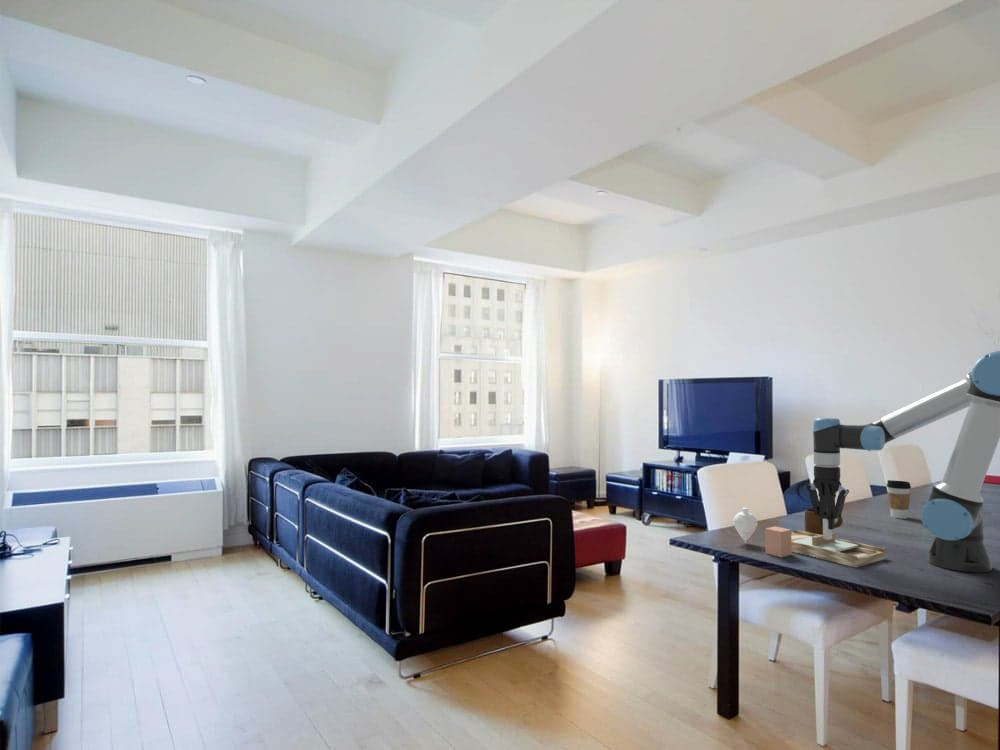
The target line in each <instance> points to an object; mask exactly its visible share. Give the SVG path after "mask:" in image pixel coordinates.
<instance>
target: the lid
mask: <svg viewBox="0 0 1000 750" xmlns="http://www.w3.org/2000/svg"><path fill="white" fill-rule="evenodd" d="M835 538H836V533H834V532H832V539H829V540H826V539H823V535H819V536H813V537H808V538H804V539H799V540H795V541H793V542H797V543H802V544H806V545H810V546H815V547H819V548H823V549H828V550H832V551H836V552H840V551H844V550H848V549H852V548H856V547H858V545H857V544H852V543H847V542H843V541H838V540H835Z"/></svg>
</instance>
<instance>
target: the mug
mask: <svg viewBox="0 0 1000 750" xmlns="http://www.w3.org/2000/svg"><path fill="white" fill-rule="evenodd" d="M826 518H827V517H826ZM836 519H837V521H836V522H835V528H834V529H837V528H839V527H841V526H842V525H843V523H844V522H843V521H844V520H843V517H842V516H841V517H840V518H836ZM804 532H809V533H814V534H819V535H823V528H821V526H820V517H819V516H818V515H815V514H814V510H813V508H806V509H804Z"/></svg>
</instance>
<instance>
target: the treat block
mask: <svg viewBox="0 0 1000 750" xmlns="http://www.w3.org/2000/svg"><path fill="white" fill-rule="evenodd" d="M764 532H765V533H764V546H765V547H764V549H765V554H768V555H770V556H775V557H779V558H786V557H788V555H789V556H792V554H793V552H792V542H791V533H792V529H789V528H785V527H780V526H772V527H766V528H764Z"/></svg>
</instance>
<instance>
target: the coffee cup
mask: <svg viewBox="0 0 1000 750" xmlns="http://www.w3.org/2000/svg"><path fill="white" fill-rule="evenodd" d="M886 482H887V483H886V487H887V490H888V491H887V496H888V504H889V511H890V518H893V519H901V520H905V519H909V510H910V509H909V508H910V501H911V500H910V499H911V493H910V492H911V490H910V489H912V486H911V482H910V481H905V480H904V481H903V480H892V479H891V480H890V479H887V481H886Z"/></svg>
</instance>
